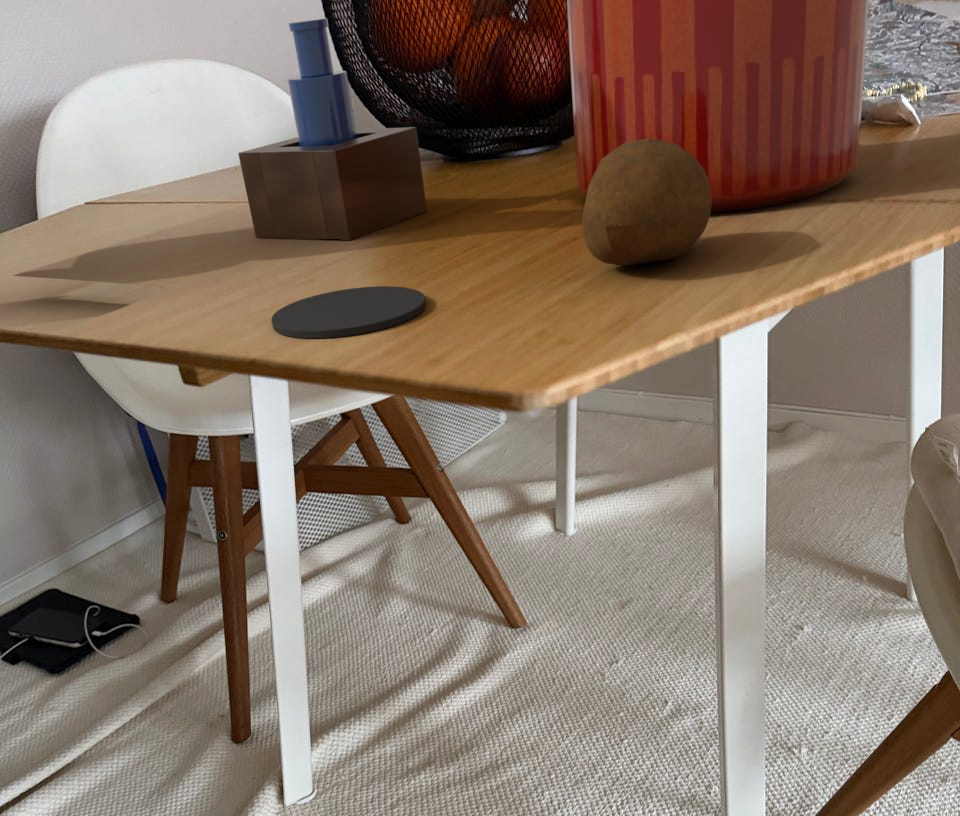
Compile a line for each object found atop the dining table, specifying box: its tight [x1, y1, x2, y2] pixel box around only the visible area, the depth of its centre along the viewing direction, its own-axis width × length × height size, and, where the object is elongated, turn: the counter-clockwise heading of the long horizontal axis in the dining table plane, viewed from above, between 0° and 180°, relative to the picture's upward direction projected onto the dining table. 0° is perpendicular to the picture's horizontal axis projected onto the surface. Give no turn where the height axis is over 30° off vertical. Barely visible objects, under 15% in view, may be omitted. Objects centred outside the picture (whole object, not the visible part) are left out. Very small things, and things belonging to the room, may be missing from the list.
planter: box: [566, 0, 870, 214], centre depth 87 cm, size 23×23×20 cm
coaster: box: [270, 285, 427, 339], centre depth 70 cm, size 10×10×1 cm
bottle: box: [287, 17, 357, 147], centre depth 94 cm, size 5×5×16 cm
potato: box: [582, 138, 712, 266], centre depth 71 cm, size 8×12×8 cm, turn 158°
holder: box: [237, 126, 428, 241], centre depth 96 cm, size 11×11×7 cm
